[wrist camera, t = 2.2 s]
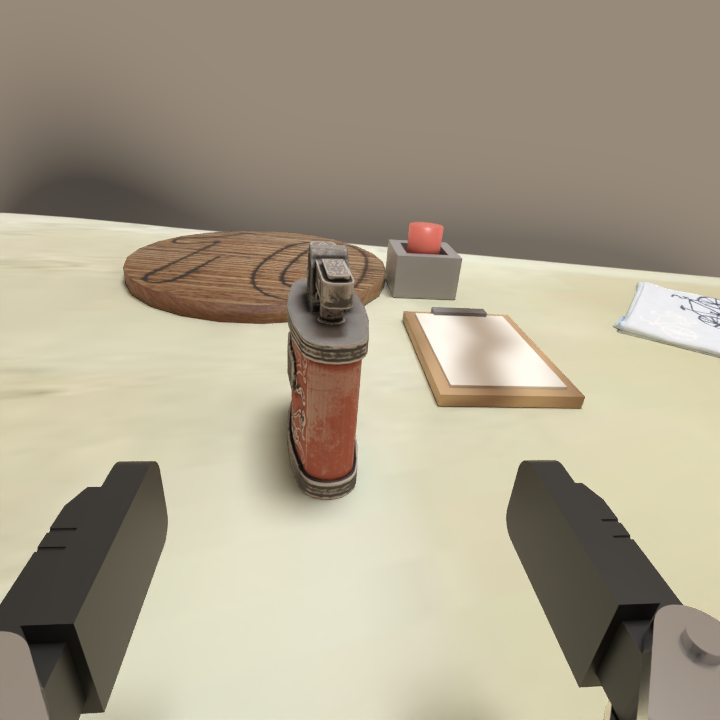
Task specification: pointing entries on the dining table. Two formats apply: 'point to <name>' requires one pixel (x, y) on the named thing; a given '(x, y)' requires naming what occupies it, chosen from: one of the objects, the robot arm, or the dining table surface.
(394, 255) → the button box
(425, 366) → the clipboard
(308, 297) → the lighter
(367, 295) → the trivet
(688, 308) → the folded patterned cloth
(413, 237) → the button
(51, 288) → the dining table surface
